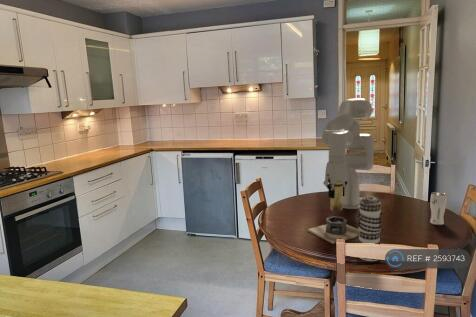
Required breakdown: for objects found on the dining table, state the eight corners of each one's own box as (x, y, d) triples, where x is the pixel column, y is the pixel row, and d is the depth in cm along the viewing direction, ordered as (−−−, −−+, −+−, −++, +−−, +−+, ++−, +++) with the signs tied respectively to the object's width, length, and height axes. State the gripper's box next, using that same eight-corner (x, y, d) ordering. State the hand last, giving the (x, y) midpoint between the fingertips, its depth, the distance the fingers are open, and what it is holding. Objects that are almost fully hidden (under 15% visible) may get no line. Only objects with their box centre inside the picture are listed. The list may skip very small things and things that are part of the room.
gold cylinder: (336, 207, 175) (337, 178, 172) (345, 210, 170) (345, 181, 167) (327, 209, 172) (327, 180, 170) (335, 212, 167) (336, 183, 165)
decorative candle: (364, 249, 154) (365, 193, 150) (385, 256, 147) (387, 197, 143) (352, 256, 148) (353, 198, 144) (373, 263, 141) (375, 203, 137)
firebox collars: (337, 225, 179) (337, 215, 178) (350, 231, 171) (350, 220, 170) (322, 229, 175) (322, 218, 174) (335, 236, 167) (335, 224, 166)
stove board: (339, 222, 186) (339, 221, 185) (365, 234, 170) (365, 232, 170) (307, 230, 177) (307, 229, 177) (332, 243, 161) (332, 241, 161)
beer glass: (443, 221, 182) (445, 192, 179) (446, 226, 176) (448, 196, 173) (428, 220, 185) (429, 191, 182) (430, 224, 178) (432, 195, 175)
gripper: (345, 155, 174) (344, 192, 177) (316, 159, 166) (316, 197, 169) (356, 158, 167) (356, 195, 170) (327, 162, 160) (327, 201, 163)
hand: (336, 196), depth 170 cm, fingers closed on gold cylinder, 5 cm apart
